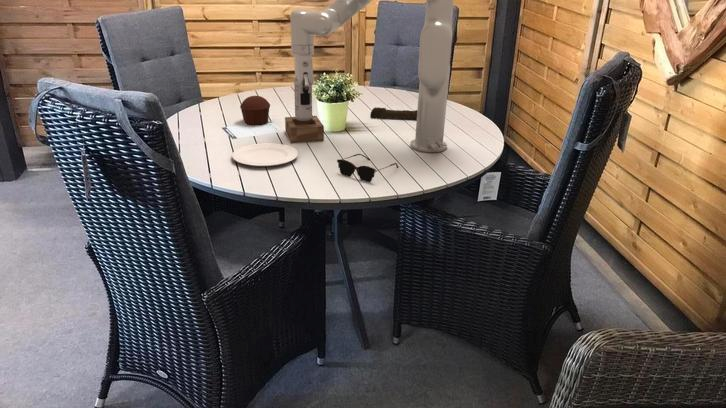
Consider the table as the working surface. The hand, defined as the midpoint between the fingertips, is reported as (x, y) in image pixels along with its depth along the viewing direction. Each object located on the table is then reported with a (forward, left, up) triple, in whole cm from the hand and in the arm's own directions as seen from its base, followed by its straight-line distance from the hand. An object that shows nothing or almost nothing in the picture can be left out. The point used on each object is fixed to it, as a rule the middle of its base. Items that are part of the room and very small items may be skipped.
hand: (303, 101), depth 188 cm
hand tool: (+15, -39, -13) cm, 44 cm away
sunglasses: (-37, -14, -13) cm, 41 cm away
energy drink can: (0, 0, -6) cm, 6 cm away
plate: (-20, +16, -13) cm, 28 cm away
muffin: (+20, +15, -13) cm, 29 cm away
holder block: (0, 0, -13) cm, 13 cm away
